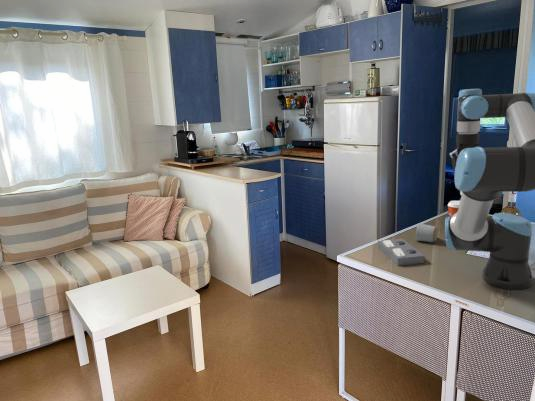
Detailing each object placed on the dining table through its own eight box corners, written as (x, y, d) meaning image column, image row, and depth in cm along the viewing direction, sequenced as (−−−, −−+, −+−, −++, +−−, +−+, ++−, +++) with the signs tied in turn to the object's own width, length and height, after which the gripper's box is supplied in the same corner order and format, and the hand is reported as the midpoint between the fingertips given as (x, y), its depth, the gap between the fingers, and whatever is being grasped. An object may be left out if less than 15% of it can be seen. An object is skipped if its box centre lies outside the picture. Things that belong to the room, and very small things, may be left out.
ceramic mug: (434, 245, 180) (435, 228, 178) (415, 242, 184) (415, 226, 182) (438, 237, 188) (439, 221, 186) (420, 235, 192) (420, 219, 191)
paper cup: (445, 232, 193) (446, 204, 189) (447, 227, 199) (449, 199, 195) (463, 234, 189) (465, 205, 185) (465, 229, 195) (467, 201, 191)
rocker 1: (394, 248, 174) (394, 246, 173) (387, 249, 173) (387, 246, 173) (389, 241, 178) (390, 239, 178) (382, 242, 178) (382, 240, 177)
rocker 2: (405, 257, 164) (405, 255, 164) (397, 258, 164) (397, 256, 163) (399, 249, 168) (400, 247, 168) (392, 250, 168) (392, 248, 168)
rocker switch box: (424, 262, 163) (424, 255, 162) (397, 265, 162) (397, 258, 161) (401, 244, 182) (402, 238, 181) (378, 247, 181) (378, 240, 180)
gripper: (478, 130, 155) (474, 191, 161) (445, 133, 153) (442, 194, 160) (491, 132, 148) (486, 195, 154) (457, 135, 146) (453, 199, 152)
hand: (464, 195), depth 157 cm, fingers closed
